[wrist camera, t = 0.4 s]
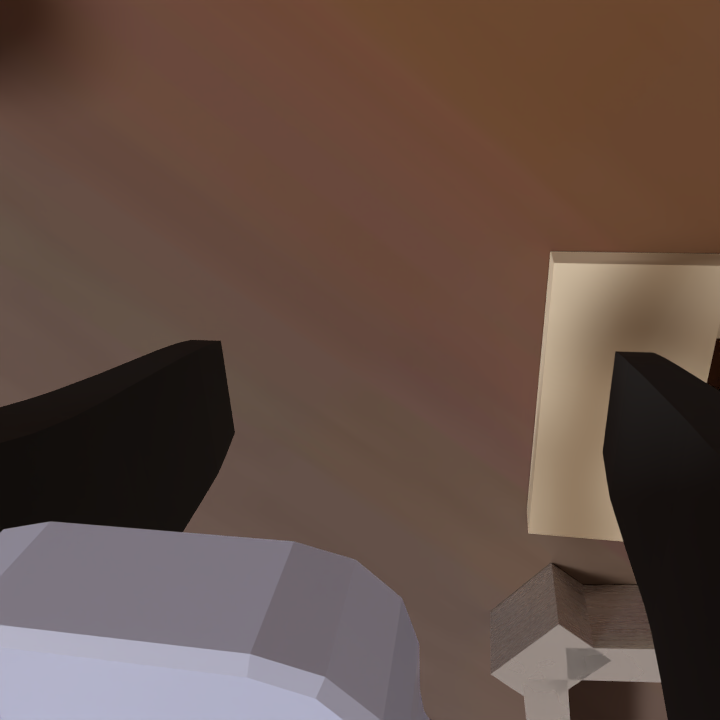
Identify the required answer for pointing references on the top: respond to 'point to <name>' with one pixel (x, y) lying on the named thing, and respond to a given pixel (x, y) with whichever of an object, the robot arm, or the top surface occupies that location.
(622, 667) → the grey angled bracket
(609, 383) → the beige plate with hole
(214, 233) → the top surface
